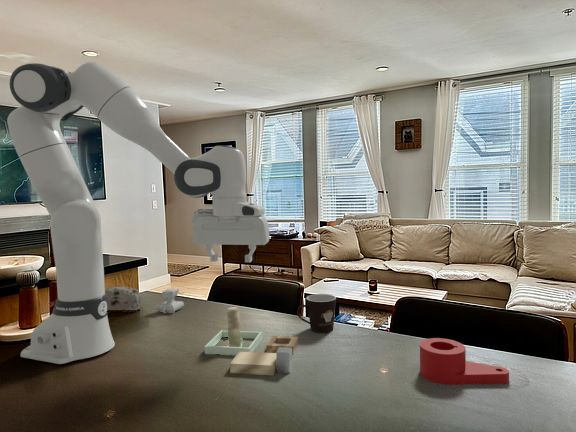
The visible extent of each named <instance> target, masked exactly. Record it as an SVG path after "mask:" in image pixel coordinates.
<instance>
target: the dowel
mask: <svg viewBox="0 0 576 432" xmlns="http://www.w3.org/2000/svg"><path fill="white" fill-rule="evenodd" d="M226 312H227V313H226V314H227V319H226V320H227V331H228V338H227V339H228V343H229V347H240V346H241V340H240V331H241V322H240V320H241V319H240V318H241V316H240V314H241V313H240V307H238V306H233V307H232V306H231V307H228V308H226Z"/></svg>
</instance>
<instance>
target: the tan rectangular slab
mask: <svg viewBox="0 0 576 432" xmlns="http://www.w3.org/2000/svg"><path fill="white" fill-rule="evenodd" d="M229 366H230V367H229V369H230V374H241V373H242V374H243V375H259V376H260V375H261V376H274V374H275V373H276V372H277V357H276V353H266V352H257V351H256V352H255V351H253V352H238V354H237V355H236V356H234V358H233V359H232V360H231V362H230V363H229Z"/></svg>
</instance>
